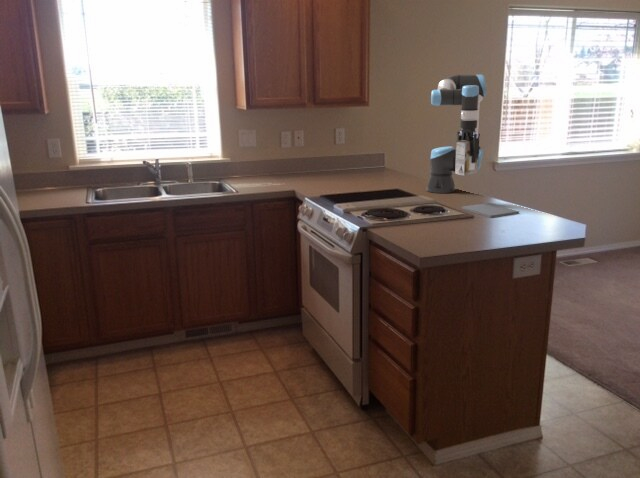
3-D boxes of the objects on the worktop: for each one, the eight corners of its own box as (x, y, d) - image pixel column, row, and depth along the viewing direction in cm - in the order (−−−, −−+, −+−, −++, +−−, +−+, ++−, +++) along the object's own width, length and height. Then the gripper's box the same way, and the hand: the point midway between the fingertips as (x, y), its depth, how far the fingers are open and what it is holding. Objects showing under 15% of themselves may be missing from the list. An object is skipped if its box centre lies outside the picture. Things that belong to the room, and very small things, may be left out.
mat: (461, 208, 261) (461, 206, 261) (488, 204, 268) (488, 202, 267) (490, 217, 244) (490, 215, 244) (518, 213, 250) (519, 211, 250)
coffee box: (468, 171, 274) (470, 138, 269) (478, 173, 269) (480, 139, 264) (454, 173, 270) (455, 140, 265) (464, 175, 264) (465, 141, 260)
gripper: (449, 118, 269) (447, 166, 276) (476, 121, 252) (473, 172, 258) (462, 117, 272) (460, 164, 279) (489, 120, 255) (486, 170, 261)
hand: (466, 168), depth 268 cm, fingers closed on coffee box, 7 cm apart
